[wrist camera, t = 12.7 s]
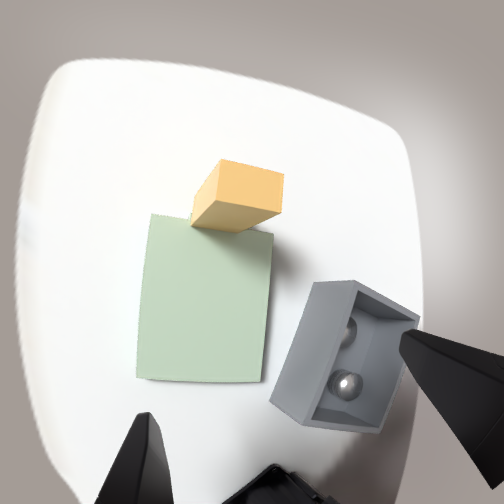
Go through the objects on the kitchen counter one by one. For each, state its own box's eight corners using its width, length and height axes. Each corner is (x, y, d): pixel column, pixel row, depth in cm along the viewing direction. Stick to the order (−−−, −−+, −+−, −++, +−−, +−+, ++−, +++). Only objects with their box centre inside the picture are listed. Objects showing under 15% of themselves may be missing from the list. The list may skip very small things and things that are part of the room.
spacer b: (329, 349, 23) (343, 353, 21) (314, 329, 23) (327, 331, 21) (347, 329, 24) (361, 331, 22) (333, 308, 23) (347, 309, 22)
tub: (342, 415, 23) (379, 433, 19) (269, 401, 21) (302, 425, 16) (379, 314, 26) (420, 316, 21) (313, 282, 23) (354, 280, 19)
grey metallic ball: (335, 400, 23) (348, 406, 21) (322, 383, 22) (335, 389, 21) (353, 380, 23) (367, 385, 22) (341, 363, 23) (355, 367, 21)
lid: (252, 375, 21) (308, 415, 14) (136, 371, 18) (137, 420, 11) (266, 215, 23) (327, 186, 15) (154, 196, 20) (165, 148, 12)
